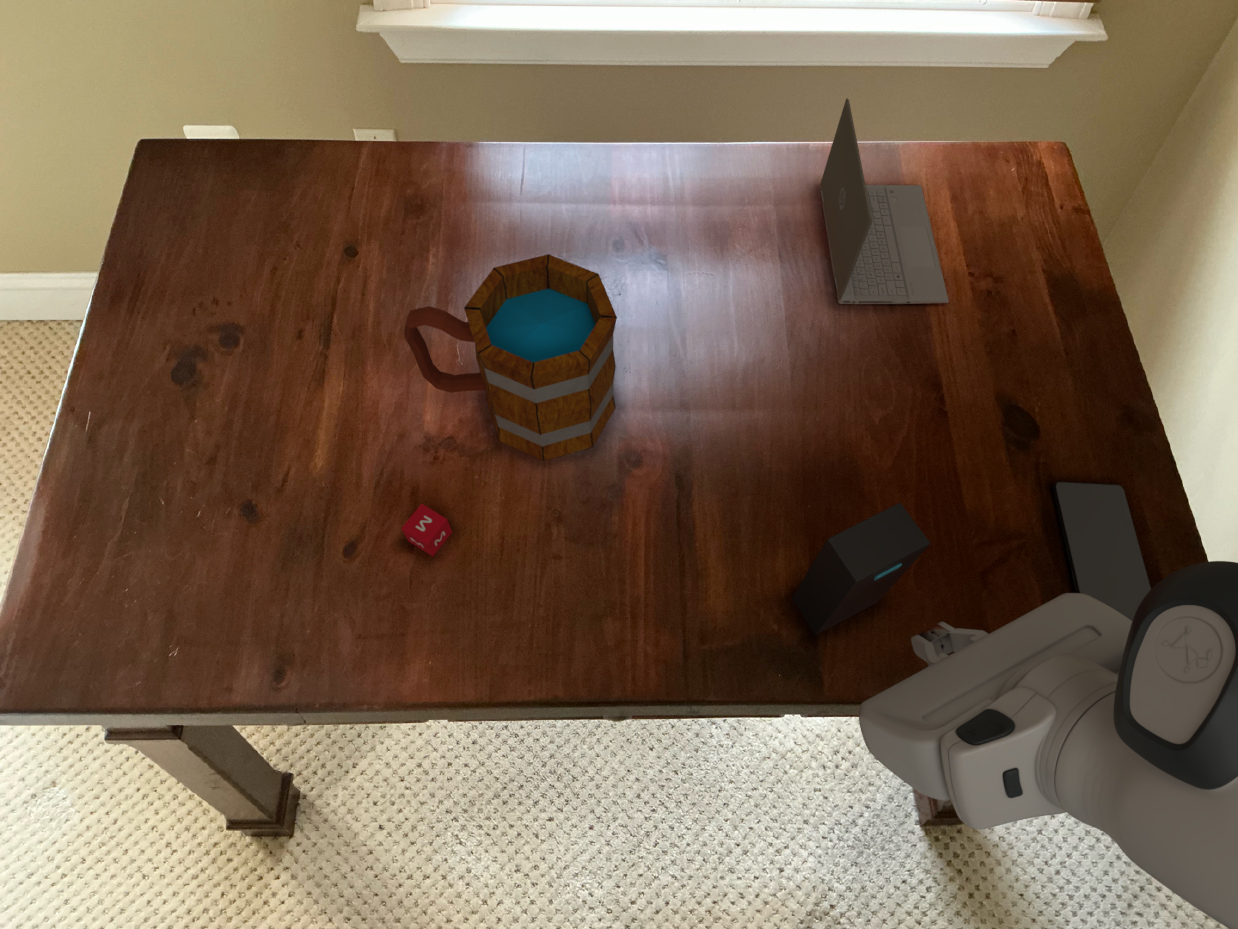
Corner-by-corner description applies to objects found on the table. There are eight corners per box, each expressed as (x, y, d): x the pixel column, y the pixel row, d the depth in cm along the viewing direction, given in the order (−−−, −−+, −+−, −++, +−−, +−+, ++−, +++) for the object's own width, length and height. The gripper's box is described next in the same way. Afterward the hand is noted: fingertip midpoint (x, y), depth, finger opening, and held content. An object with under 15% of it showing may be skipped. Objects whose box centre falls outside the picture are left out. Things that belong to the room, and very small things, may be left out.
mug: (619, 354, 89) (622, 258, 76) (610, 465, 83) (611, 381, 69) (438, 343, 89) (409, 245, 76) (415, 452, 83) (379, 366, 70)
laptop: (947, 306, 93) (995, 221, 81) (835, 305, 93) (868, 220, 81) (919, 189, 101) (960, 97, 90) (817, 188, 101) (844, 96, 89)
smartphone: (1123, 483, 81) (1164, 632, 74) (1118, 488, 82) (1158, 635, 75) (1053, 480, 81) (1086, 627, 74) (1048, 484, 82) (1081, 631, 75)
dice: (433, 556, 78) (426, 544, 75) (407, 541, 78) (400, 528, 76) (452, 532, 79) (447, 519, 76) (427, 516, 80) (421, 503, 77)
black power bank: (879, 603, 76) (932, 545, 64) (816, 637, 75) (857, 584, 62) (852, 564, 78) (899, 500, 66) (790, 596, 76) (825, 537, 64)
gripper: (1191, 617, 53) (1025, 547, 66) (933, 765, 49) (809, 660, 62) (1198, 695, 55) (1036, 613, 68) (952, 844, 51) (828, 726, 64)
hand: (927, 636), depth 65 cm, fingers closed
